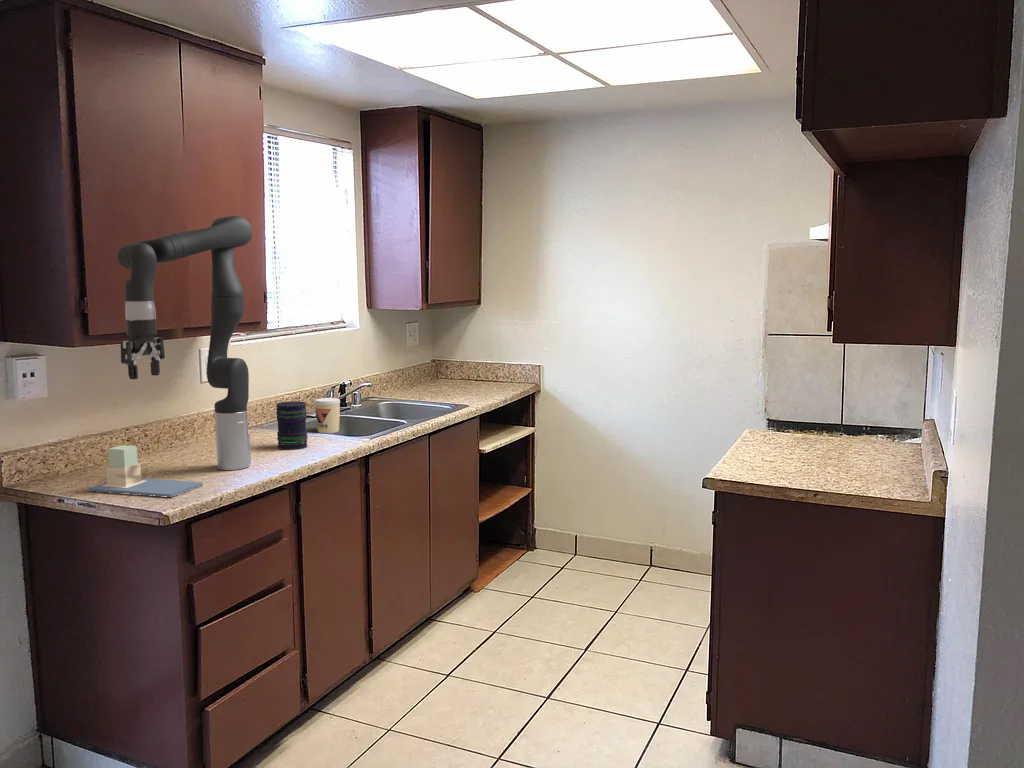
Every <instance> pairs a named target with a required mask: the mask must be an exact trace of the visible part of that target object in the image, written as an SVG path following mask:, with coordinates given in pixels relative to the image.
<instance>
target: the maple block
mask: <svg viewBox="0 0 1024 768" xmlns="http://www.w3.org/2000/svg"><path fill="white" fill-rule="evenodd" d="M141 465H142V464H141V463H138V464H136V465H133V466H130V467H126V468H118V467H109V466H106V467H105V468H106V480H107V484H108V485H111V486H124V487H126V486H129V485H132V484H135V483H138V482H141V481H142V480H141V478H142V467H141Z"/></svg>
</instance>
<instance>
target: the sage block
mask: <svg viewBox="0 0 1024 768" xmlns="http://www.w3.org/2000/svg"><path fill="white" fill-rule="evenodd" d="M107 453H108V464H109V465H108V467H118V468H126V467H130V466H133V465H136V464H139V462H138V461H139V459H138V446H137V445H123V444H122V445H118V446H113V447H110V448H108V450H107Z"/></svg>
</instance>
